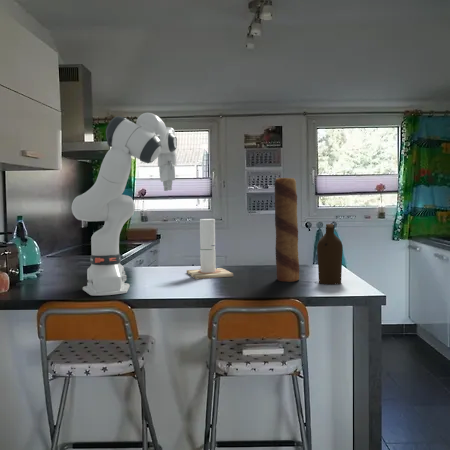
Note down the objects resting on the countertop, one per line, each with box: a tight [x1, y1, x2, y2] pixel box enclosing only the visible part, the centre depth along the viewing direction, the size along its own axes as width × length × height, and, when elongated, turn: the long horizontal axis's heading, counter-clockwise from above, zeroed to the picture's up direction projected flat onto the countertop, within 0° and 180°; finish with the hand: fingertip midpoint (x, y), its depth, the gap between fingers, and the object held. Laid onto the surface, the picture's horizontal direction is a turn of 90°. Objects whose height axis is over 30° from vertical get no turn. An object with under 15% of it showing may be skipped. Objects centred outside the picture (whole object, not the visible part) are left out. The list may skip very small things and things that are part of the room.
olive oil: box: [316, 223, 344, 286], centre depth 199 cm, size 11×11×25 cm
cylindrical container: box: [199, 218, 216, 273], centre depth 224 cm, size 7×7×25 cm
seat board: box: [186, 267, 234, 280], centre depth 225 cm, size 18×18×2 cm
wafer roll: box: [274, 177, 300, 283], centre depth 206 cm, size 10×11×45 cm
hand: (167, 190), depth 227 cm, fingers open, 8 cm apart
